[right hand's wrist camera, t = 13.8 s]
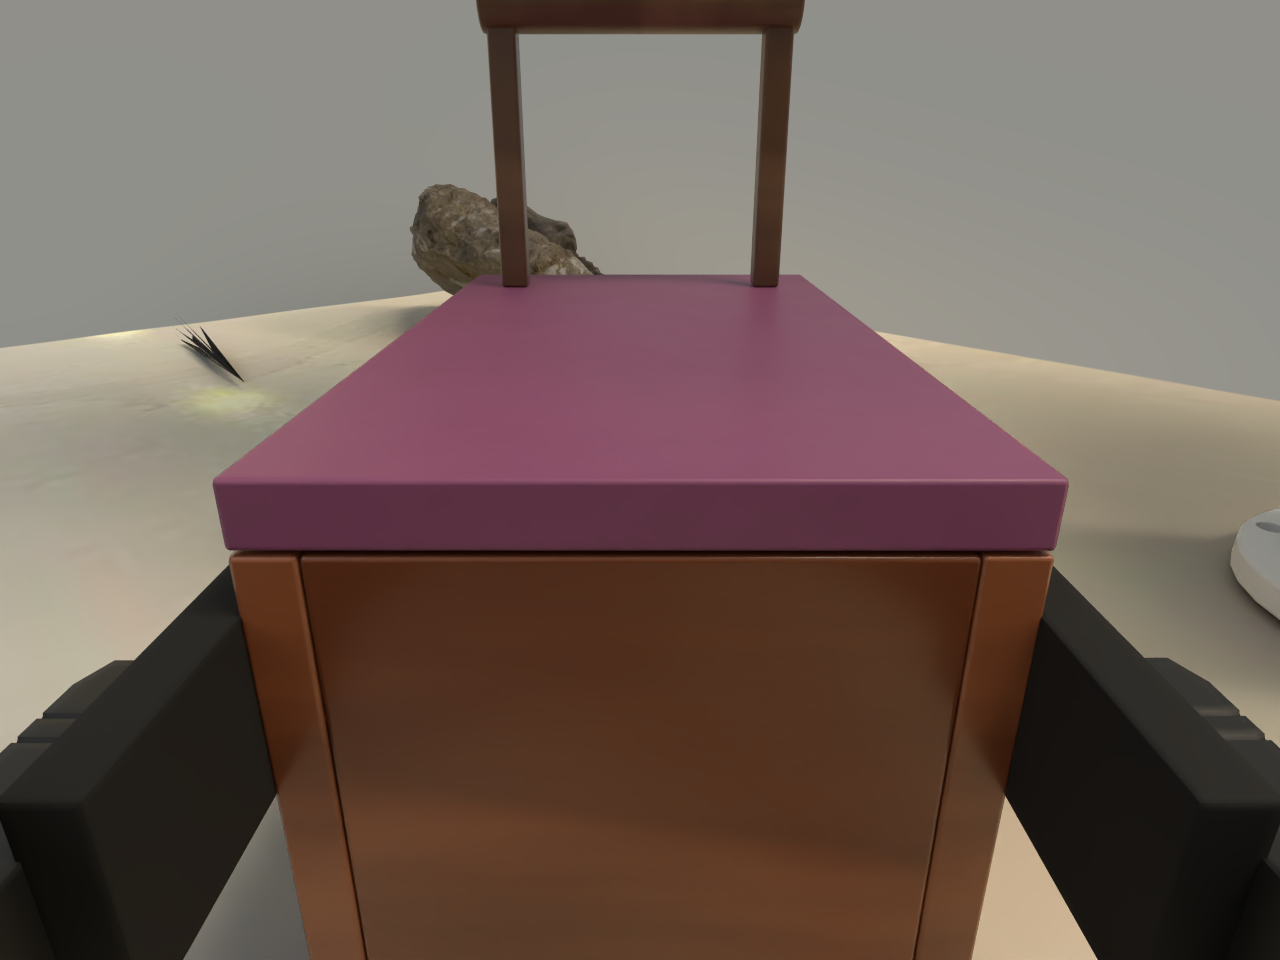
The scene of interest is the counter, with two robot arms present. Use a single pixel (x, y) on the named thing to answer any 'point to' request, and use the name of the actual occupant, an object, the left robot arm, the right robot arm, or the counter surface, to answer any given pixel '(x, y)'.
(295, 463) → the lid
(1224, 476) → the counter surface
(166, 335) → the counter surface
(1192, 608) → the counter surface
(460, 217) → the fossil
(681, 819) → the chest
